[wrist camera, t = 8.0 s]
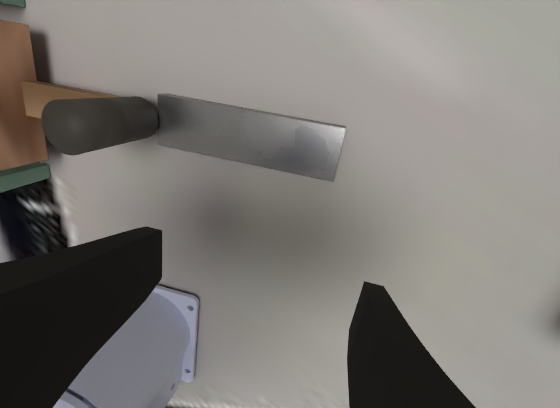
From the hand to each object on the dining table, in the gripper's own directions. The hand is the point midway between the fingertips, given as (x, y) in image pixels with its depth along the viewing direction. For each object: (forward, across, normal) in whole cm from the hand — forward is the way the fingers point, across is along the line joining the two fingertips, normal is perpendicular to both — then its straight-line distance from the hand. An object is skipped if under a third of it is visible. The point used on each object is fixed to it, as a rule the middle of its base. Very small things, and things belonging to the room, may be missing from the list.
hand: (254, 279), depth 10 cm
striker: (+8, +14, -3) cm, 16 cm away
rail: (+9, +4, -3) cm, 10 cm away
